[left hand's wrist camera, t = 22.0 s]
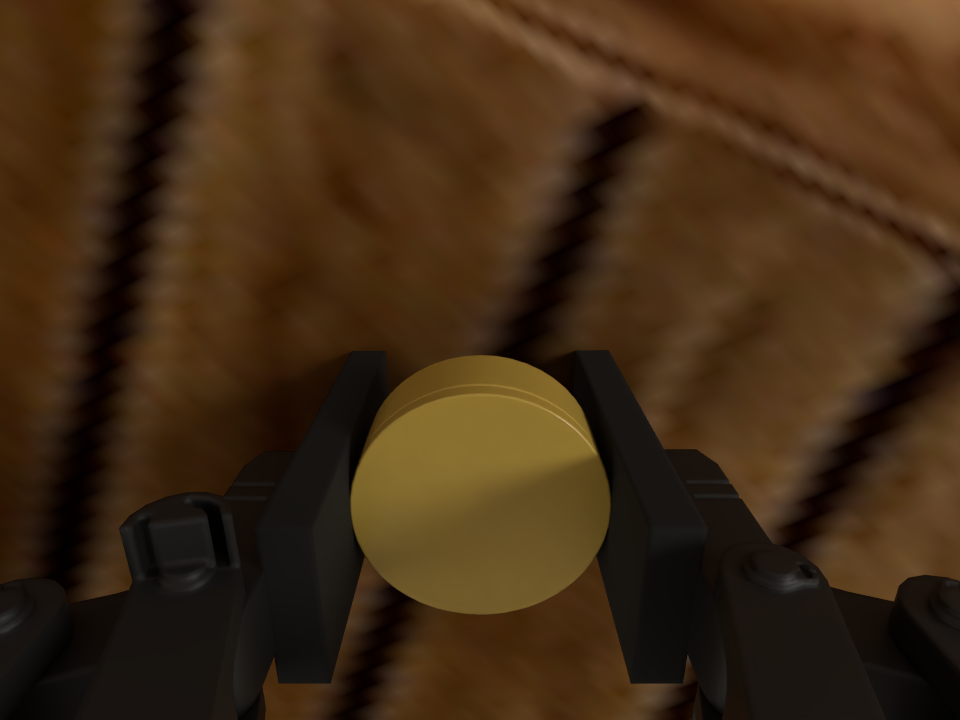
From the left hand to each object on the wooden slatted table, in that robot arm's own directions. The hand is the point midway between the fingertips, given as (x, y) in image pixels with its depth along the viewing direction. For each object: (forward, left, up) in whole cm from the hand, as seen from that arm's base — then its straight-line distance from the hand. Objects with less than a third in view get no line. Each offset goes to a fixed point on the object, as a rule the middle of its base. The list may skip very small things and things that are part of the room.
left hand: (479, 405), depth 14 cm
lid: (0, 0, +4) cm, 4 cm away
